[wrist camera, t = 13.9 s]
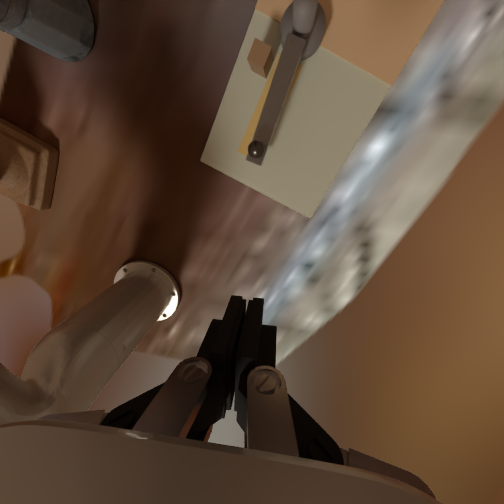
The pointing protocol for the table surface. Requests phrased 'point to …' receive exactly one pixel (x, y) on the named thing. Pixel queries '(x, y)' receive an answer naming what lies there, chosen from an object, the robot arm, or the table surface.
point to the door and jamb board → (313, 90)
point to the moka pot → (51, 25)
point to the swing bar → (276, 98)
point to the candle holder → (26, 167)
